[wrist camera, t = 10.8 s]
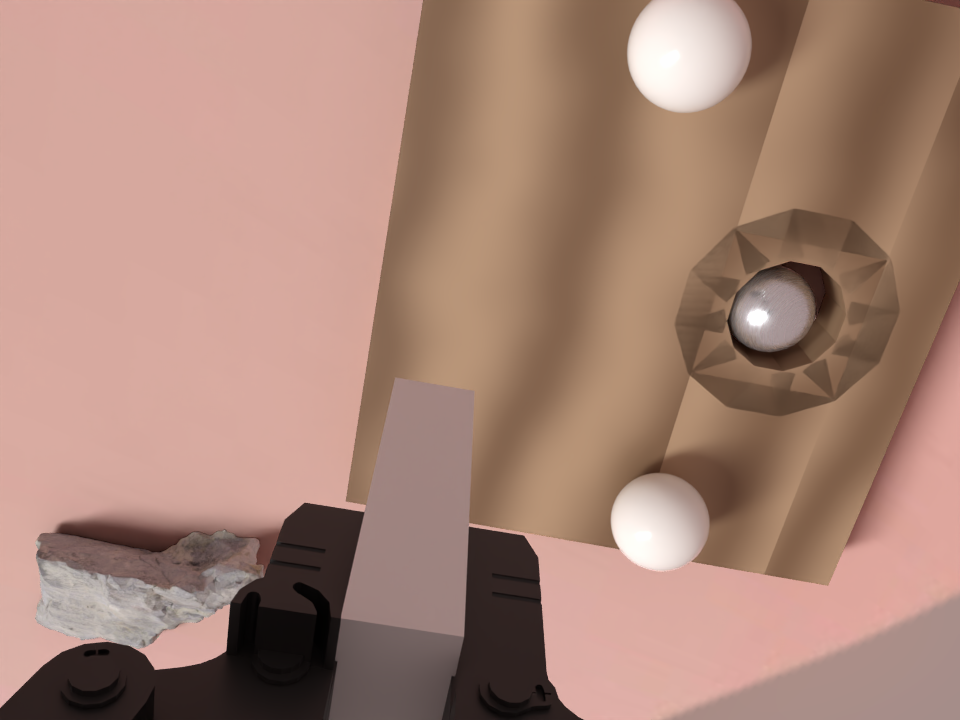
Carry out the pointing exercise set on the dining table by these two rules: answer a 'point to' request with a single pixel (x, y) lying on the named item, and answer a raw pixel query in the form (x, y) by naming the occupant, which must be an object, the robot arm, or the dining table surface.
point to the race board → (670, 264)
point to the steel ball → (772, 310)
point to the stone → (139, 584)
